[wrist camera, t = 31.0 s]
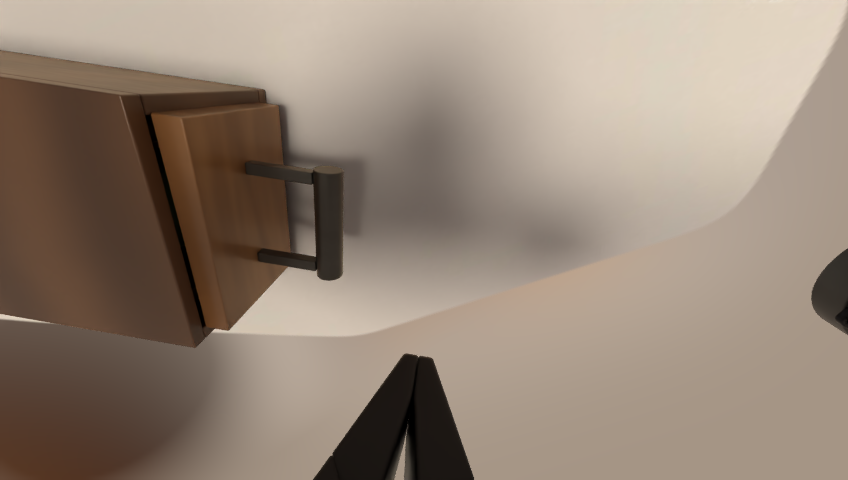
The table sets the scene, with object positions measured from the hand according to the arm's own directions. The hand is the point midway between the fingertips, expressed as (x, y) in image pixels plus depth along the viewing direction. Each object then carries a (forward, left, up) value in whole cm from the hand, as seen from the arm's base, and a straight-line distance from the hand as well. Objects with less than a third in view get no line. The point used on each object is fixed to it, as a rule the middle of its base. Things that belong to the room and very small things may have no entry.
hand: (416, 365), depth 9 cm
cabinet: (-3, +19, -12) cm, 22 cm away
